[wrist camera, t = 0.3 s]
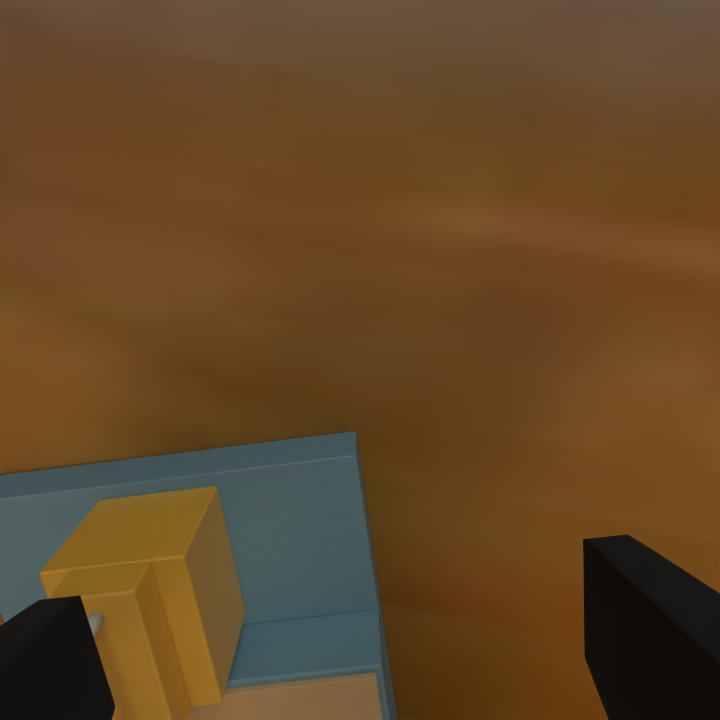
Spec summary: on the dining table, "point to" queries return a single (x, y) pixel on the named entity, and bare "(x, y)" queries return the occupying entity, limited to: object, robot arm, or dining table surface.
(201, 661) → the block with handle
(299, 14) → the dining table surface
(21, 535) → the step rack
